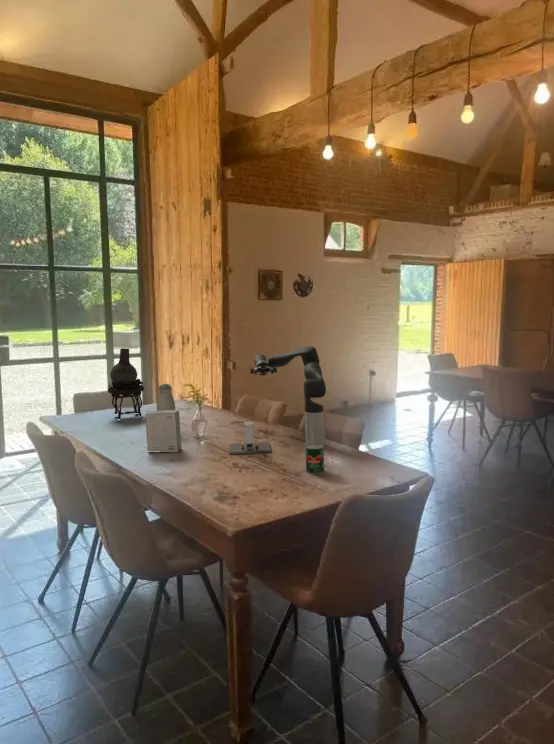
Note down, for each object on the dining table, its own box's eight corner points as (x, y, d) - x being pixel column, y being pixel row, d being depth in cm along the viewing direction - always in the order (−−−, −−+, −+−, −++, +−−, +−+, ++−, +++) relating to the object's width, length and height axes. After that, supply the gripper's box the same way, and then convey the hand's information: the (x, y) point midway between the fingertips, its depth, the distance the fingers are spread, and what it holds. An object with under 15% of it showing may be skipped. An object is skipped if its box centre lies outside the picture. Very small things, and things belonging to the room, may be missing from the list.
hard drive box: (182, 449, 289) (179, 410, 286) (178, 453, 281) (175, 413, 279) (152, 449, 290) (149, 410, 288) (147, 453, 283) (144, 413, 280)
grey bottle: (164, 435, 318) (161, 385, 315) (155, 432, 326) (152, 384, 322) (179, 432, 324) (176, 383, 321) (170, 429, 332) (168, 382, 329)
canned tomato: (309, 474, 240) (308, 449, 239) (303, 469, 248) (302, 444, 246) (327, 472, 242) (326, 447, 241) (320, 467, 250) (320, 442, 248)
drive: (245, 445, 286) (244, 421, 285) (253, 445, 287) (252, 421, 285) (245, 448, 280) (244, 424, 278) (253, 448, 280) (252, 424, 279)
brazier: (111, 415, 379) (107, 347, 374) (146, 413, 383) (142, 346, 378) (108, 422, 358) (103, 350, 352) (145, 420, 361) (140, 349, 356)
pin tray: (229, 446, 291) (229, 438, 290) (269, 444, 292) (268, 436, 292) (229, 454, 275) (228, 446, 275) (270, 452, 276) (270, 444, 276)
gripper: (249, 361, 319) (250, 365, 303) (274, 360, 320) (277, 364, 304) (250, 374, 320) (251, 379, 304) (275, 373, 322) (277, 378, 306)
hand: (264, 372), depth 304 cm, fingers open, 8 cm apart
